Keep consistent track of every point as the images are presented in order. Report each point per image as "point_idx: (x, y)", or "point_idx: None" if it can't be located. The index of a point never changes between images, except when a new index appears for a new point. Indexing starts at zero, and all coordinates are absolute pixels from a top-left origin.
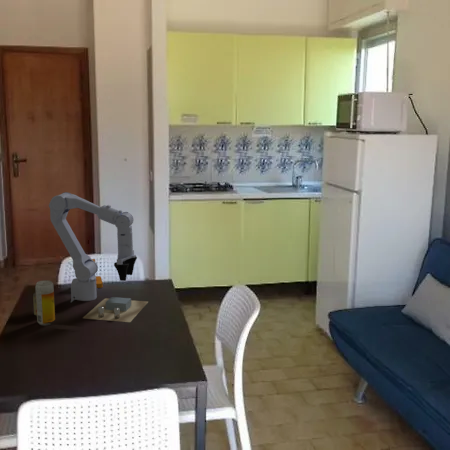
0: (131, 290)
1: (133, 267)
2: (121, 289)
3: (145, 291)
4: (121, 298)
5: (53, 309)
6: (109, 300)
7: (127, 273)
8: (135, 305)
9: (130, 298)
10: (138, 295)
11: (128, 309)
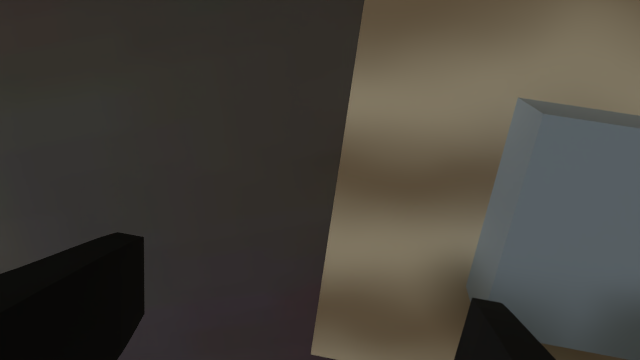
0: (18, 174)
1: (1, 282)
2: (21, 257)
3: (4, 40)
4: (539, 225)
5: None
6: (600, 335)
7: (130, 319)
8: (507, 54)
9: (545, 122)
10: (127, 89)
11: (635, 108)
